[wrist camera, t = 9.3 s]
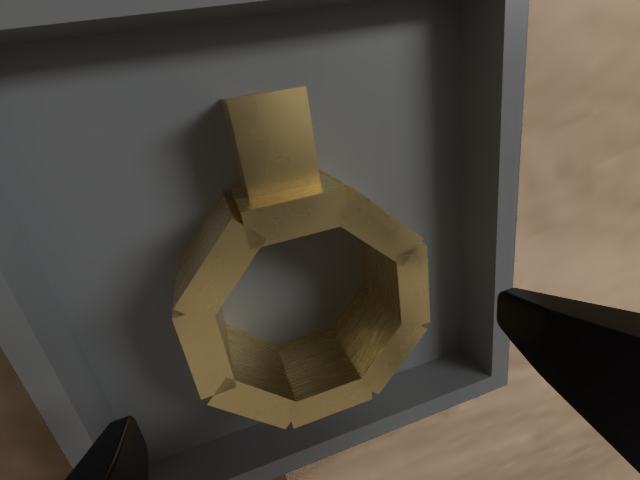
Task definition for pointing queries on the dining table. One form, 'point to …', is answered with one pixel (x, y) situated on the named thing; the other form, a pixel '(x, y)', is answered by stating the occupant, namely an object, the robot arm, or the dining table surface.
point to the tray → (216, 176)
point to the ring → (281, 225)
